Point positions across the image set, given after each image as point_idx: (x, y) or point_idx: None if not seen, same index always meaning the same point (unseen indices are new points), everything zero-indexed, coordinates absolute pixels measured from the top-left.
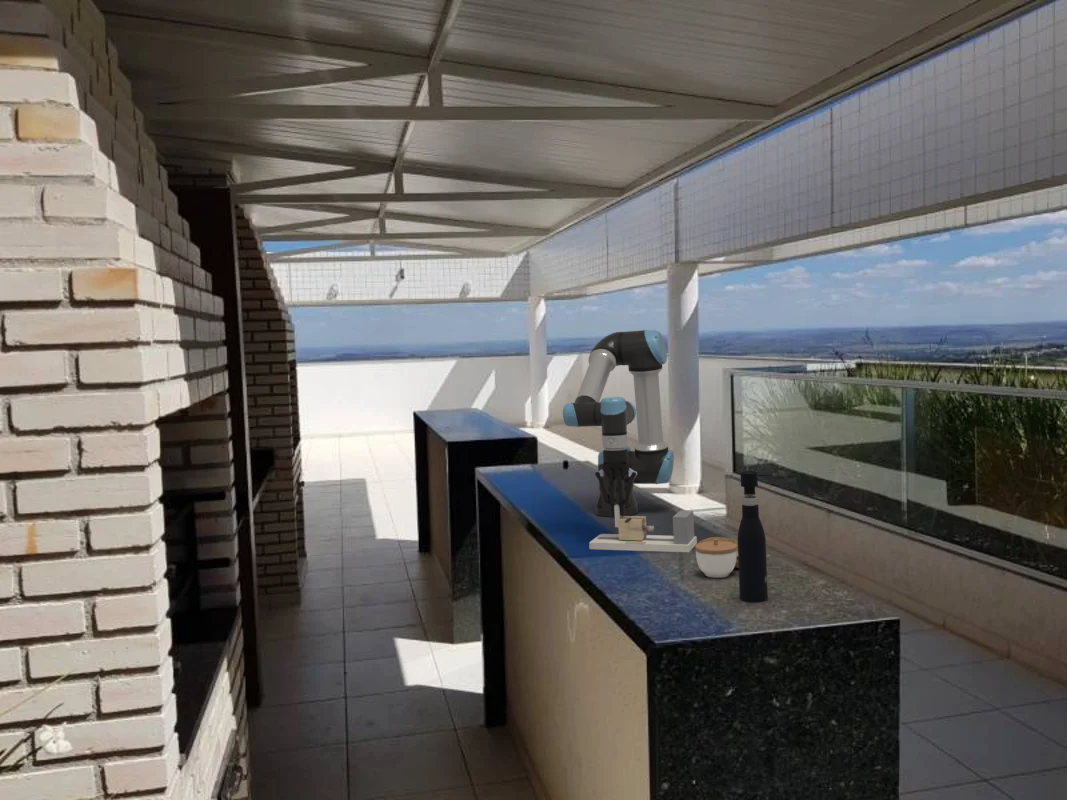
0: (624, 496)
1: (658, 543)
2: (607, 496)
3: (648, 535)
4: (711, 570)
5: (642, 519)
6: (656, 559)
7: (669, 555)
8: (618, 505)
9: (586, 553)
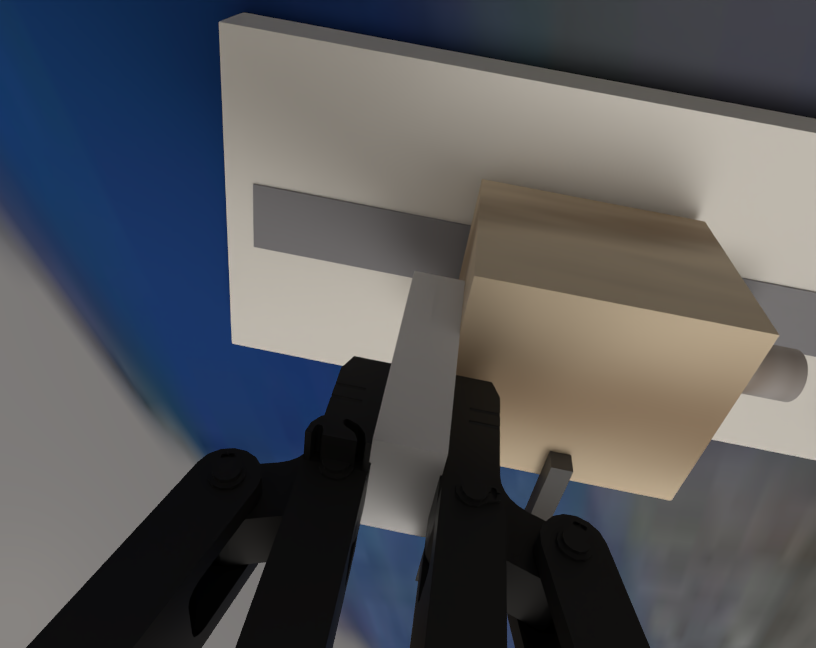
0: (505, 594)
1: (753, 419)
2: (215, 620)
3: (736, 134)
4: None
5: (698, 454)
6: (674, 543)
7: (773, 492)
8: (414, 513)
9: (265, 404)
